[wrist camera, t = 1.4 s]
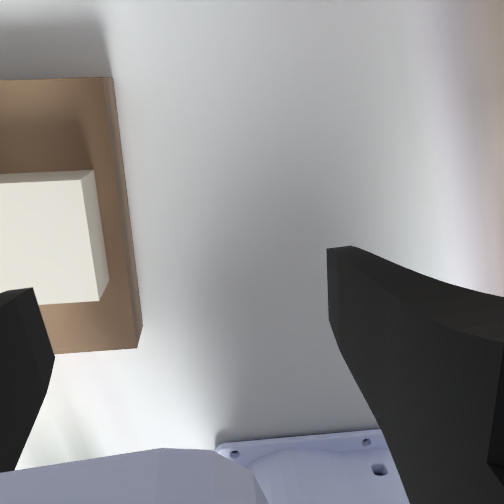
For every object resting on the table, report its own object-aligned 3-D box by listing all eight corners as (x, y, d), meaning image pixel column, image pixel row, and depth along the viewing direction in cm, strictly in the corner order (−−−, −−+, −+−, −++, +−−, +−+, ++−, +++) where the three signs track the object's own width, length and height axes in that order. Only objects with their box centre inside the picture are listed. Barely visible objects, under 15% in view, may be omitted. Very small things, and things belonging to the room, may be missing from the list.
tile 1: (94, 169, 18) (80, 179, 16) (109, 279, 19) (99, 300, 18) (-31, 175, 18) (-59, 186, 16) (-5, 287, 19) (-28, 309, 17)
